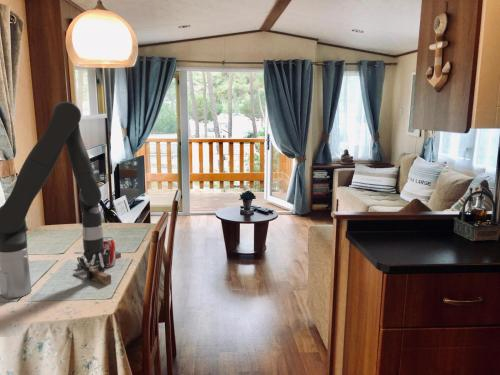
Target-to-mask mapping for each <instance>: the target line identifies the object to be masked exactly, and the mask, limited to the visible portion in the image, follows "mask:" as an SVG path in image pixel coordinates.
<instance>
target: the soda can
mask: <svg viewBox="0 0 500 375" xmlns="http://www.w3.org/2000/svg"><path fill="white" fill-rule="evenodd" d="M103 242H104V247H103V248H104V249H108V250H110V256H109V260H108V264H107V265H104V267H103V268H112V267H113V266H114V265H115V264H116V260H117V259H116V257H115V252H116V245H115V244H116V243H115V241H114V238H113V237H110V236H107V237H106V236H105V237H104V236H103ZM103 255H104V254H103ZM103 255H102V258H103Z"/></svg>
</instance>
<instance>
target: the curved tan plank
mask: <svg viewBox="0 0 500 375" xmlns="http://www.w3.org/2000/svg"><path fill="white" fill-rule="evenodd" d="M92 273H93V280H92V281H94V282H97V283H99V284H102V285H103V286H109V285H111V284H112V275H111V274H109V273H106V272H102V271H99V270H98V269H96V268H93V267H92ZM72 275H73V276H74V277H77V278H79V279H82V280H87V279H88V278H87V271H84V270H79V271H75V272H73V273H72ZM108 284H109V285H108Z"/></svg>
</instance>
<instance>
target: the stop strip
mask: <svg viewBox="0 0 500 375" xmlns="http://www.w3.org/2000/svg"><path fill="white" fill-rule="evenodd" d="M115 257H116V260H117V259H120V258H122V253H121V252H119V251H115ZM84 262H85V264H86V260H85V261H84ZM90 263H91V262H90ZM95 266H98V264H97V261H95V262H94V265H93V267H95ZM76 268H77V270H79V271H81V270H82V269H81V267H80V265H79V263H77V264H76Z"/></svg>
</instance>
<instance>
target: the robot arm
mask: <svg viewBox="0 0 500 375" xmlns="http://www.w3.org/2000/svg"><path fill="white" fill-rule="evenodd" d="M81 112H82V111H81V109H80V108H79V107H78V106H77V104H75V103H73V102H70V101H61V102H58V103H57V104H55V106H54V107H53V109H52V111H51V113H52V116H51V119H50V122H49V123H48V126H47V128H46V130H45V131H44V133H43V134H42V137H40V139H39V140H38V141H37V142H36V143H35V145H34V146H33V147H32V149H31V150H30V152H29V153H28V155H27V156H26V159H25V160H24V162H23V163H22V166H21V168H20V170H19V172H18V175H17V177H16V181H15V183H14V186H13V188H12V191H11V193H10V194H9V196H8V197H7V199H6V201H5V202H4V203H3V205H1V206H0V296H2V297H4V298H5V299H7V300H10V299H17V298H20V297H24V296H26V295H29V294H30V293H31V292H32V281H31V271H30V262H29V252H28V240H27V239H28V238H27V236H28V235H27V226H26V218H27V216H28V213H29V210H30V207H31V205H32V203H33V201H34V200H35V198H36V197H37V195H38V194H39V193H40V191H41V189H42V188H43V186H44V185H45V184H46V182H47V180H49V177H50V175H51V173H52V172H53V170H54V168H55V166H56V163H57V161H58V159H59V158H60V156H61V153H62V150H63V148H64V146H65V147H66V150H67V155H68V159H69V163H70V166H71V170H72V174H73V175H74V179H75V181H76V182H77V184H78V187H79V193H78V197H79V198H78V199H79V204H80V211H81V219H82V245H83V248H82V249H83V251H84V252H83V255H81V256H78V257H77V258H76V260H77V262H78V264H79V265H80V267H81V269H82V270H84V271H87V279H88V280H89V281H94V280H93V273H92V268H93V267H94V266H93V265H94V262H95V261H97V264H98V265H97V270H99V271H102V272H104V271H105V270H104V268H105V267H104V265H107V264H108V260H109V256H110V250H108V249H104V248H103V247H104V242H103V238H104V230H103V222H102V214H101V210H100V209H99V208H100V207H99V204H100V203H101V201H102V200H101V199H102V192H101V188H100V186H99V184H98V181H97V179H96V177H95V174H94V169H93V166H92V162H91V159H90V156H89V154H88V151H87V149H86V146H85V143H84V141H83V137H82V134H81V129H80V122H81V118H82V113H81ZM103 254H104V255H103ZM102 255H103V258H102ZM85 261H86V264H85ZM90 262H91V263H90ZM104 273H105V272H104Z"/></svg>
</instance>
